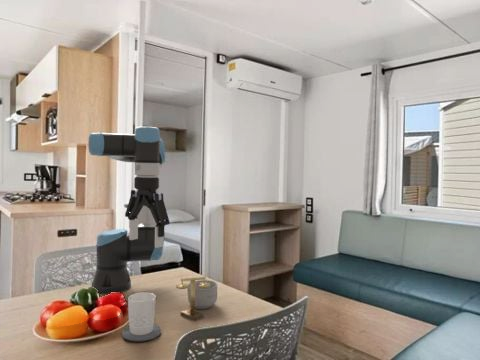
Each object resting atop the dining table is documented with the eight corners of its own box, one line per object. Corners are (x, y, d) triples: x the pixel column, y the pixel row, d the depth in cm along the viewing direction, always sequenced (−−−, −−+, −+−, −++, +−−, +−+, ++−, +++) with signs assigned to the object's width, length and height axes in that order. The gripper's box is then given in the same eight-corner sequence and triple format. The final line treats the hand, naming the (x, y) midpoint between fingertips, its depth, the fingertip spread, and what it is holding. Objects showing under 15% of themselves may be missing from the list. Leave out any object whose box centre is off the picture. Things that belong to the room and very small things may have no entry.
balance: (173, 312, 124) (174, 270, 123) (182, 308, 127) (182, 268, 126) (203, 324, 114) (204, 279, 114) (211, 320, 117) (212, 276, 117)
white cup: (144, 322, 112) (145, 290, 112) (160, 329, 107) (161, 296, 107) (122, 330, 106) (122, 297, 106) (138, 339, 101) (138, 303, 101)
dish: (114, 334, 106) (114, 330, 106) (146, 323, 114) (146, 319, 114) (136, 347, 99) (136, 343, 99) (168, 334, 107) (168, 330, 107)
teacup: (212, 313, 123) (212, 290, 123) (182, 310, 126) (182, 287, 125) (222, 299, 137) (222, 278, 137) (195, 296, 139) (195, 275, 139)
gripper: (114, 174, 119) (114, 238, 120) (161, 179, 103) (160, 252, 104) (134, 173, 124) (133, 234, 126) (182, 178, 108) (180, 248, 110)
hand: (145, 243), depth 115 cm, fingers open, 13 cm apart
